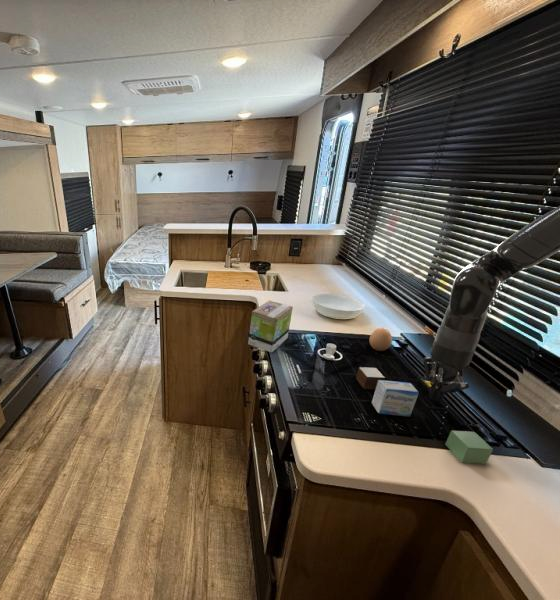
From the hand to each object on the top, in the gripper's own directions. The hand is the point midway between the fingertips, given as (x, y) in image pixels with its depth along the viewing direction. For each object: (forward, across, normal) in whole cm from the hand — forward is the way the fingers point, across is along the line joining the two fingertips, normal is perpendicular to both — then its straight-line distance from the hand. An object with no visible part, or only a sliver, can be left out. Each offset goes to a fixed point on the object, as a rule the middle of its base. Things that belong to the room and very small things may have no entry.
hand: (434, 399), depth 82 cm
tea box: (+4, +36, +36) cm, 51 cm away
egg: (+5, +33, -4) cm, 34 cm away
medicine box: (+5, 0, +10) cm, 11 cm away
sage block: (+5, -14, +1) cm, 15 cm away
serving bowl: (+5, +64, 0) cm, 64 cm away
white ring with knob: (+5, +28, +18) cm, 34 cm away
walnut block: (+5, +11, +10) cm, 16 cm away
